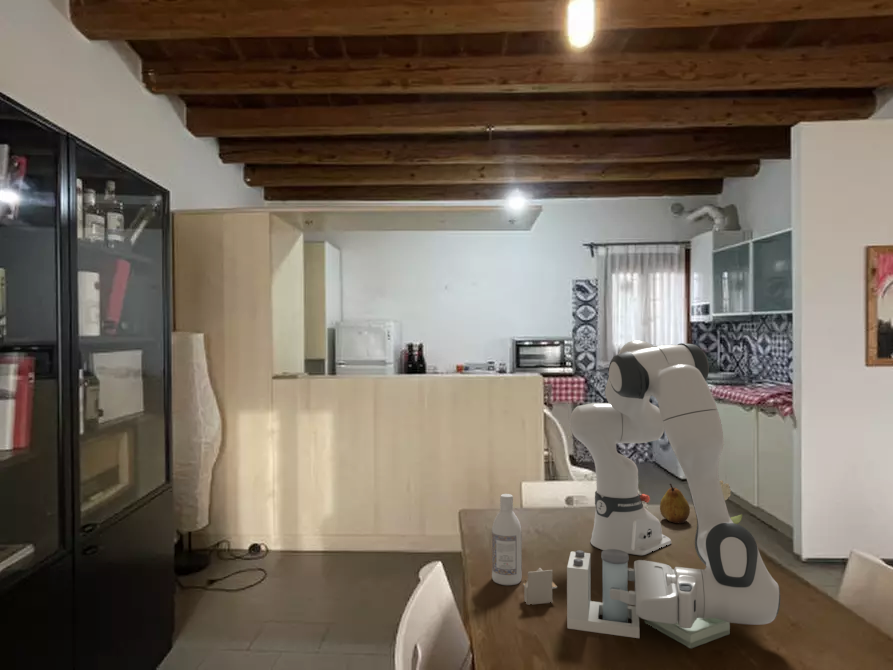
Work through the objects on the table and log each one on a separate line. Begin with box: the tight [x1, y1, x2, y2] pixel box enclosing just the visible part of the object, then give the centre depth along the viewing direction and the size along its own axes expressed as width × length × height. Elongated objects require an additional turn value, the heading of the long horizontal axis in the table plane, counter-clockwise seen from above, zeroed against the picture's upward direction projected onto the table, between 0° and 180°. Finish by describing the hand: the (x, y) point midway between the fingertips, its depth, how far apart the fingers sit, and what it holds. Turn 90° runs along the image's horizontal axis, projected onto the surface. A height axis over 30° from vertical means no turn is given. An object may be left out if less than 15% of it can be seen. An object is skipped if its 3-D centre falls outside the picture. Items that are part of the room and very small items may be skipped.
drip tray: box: [644, 618, 731, 649], centre depth 116 cm, size 11×11×2 cm
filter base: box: [566, 549, 640, 639], centre depth 118 cm, size 14×9×13 cm, turn 73°
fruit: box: [659, 483, 691, 524], centre depth 183 cm, size 9×9×12 cm
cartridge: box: [600, 549, 630, 623], centre depth 117 cm, size 5×5×14 cm
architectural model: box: [522, 567, 558, 606], centre depth 128 cm, size 3×7×7 cm, turn 102°
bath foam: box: [491, 493, 523, 586], centre depth 139 cm, size 7×7×20 cm
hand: (610, 583), depth 118 cm, fingers open, 8 cm apart
